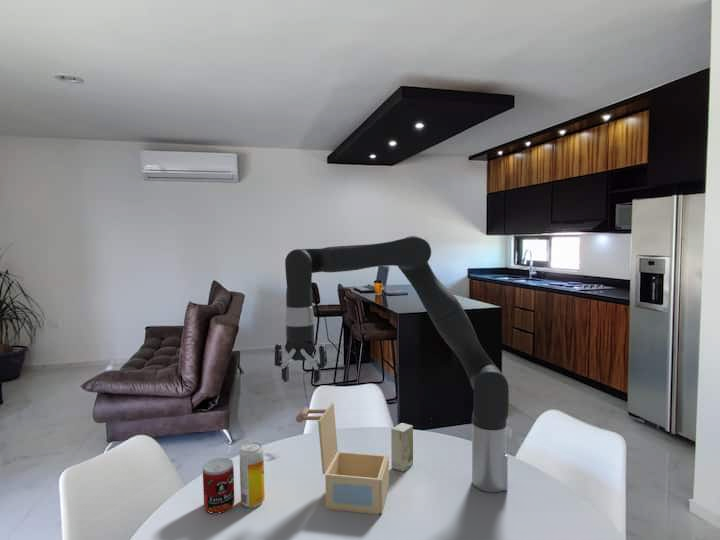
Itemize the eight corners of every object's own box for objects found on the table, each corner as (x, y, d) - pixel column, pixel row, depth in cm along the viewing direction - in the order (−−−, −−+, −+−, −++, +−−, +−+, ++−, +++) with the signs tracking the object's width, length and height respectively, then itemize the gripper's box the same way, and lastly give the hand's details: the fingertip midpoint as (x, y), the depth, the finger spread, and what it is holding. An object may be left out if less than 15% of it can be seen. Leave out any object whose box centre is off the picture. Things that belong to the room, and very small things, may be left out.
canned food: (206, 518, 109) (205, 475, 108) (201, 502, 116) (200, 461, 115) (237, 509, 112) (236, 467, 112) (231, 494, 120) (230, 455, 119)
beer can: (269, 498, 117) (267, 444, 116) (254, 511, 112) (253, 453, 111) (251, 493, 120) (249, 440, 119) (236, 505, 114) (234, 449, 113)
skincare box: (403, 472, 130) (402, 432, 129) (390, 468, 132) (390, 428, 132) (414, 463, 135) (413, 425, 134) (402, 459, 137) (401, 421, 137)
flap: (333, 402, 124) (307, 402, 125) (320, 420, 111) (291, 420, 113) (337, 450, 124) (311, 450, 126) (324, 474, 112) (295, 473, 113)
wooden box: (389, 487, 122) (388, 455, 121) (381, 515, 109) (381, 480, 108) (338, 482, 125) (338, 451, 124) (325, 509, 112) (325, 475, 111)
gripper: (329, 321, 120) (330, 379, 121) (280, 320, 123) (281, 376, 124) (321, 325, 113) (322, 387, 113) (269, 324, 116) (271, 385, 116)
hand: (301, 382), depth 119 cm, fingers open, 8 cm apart
